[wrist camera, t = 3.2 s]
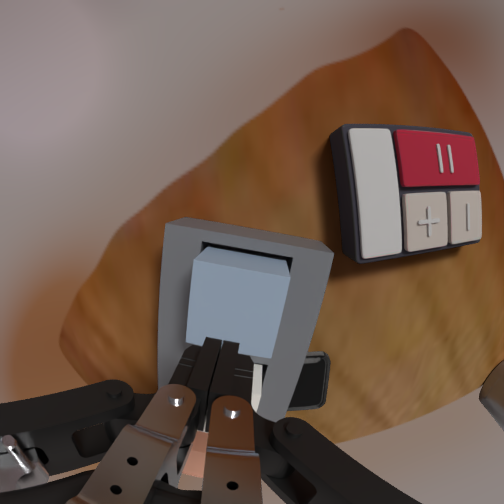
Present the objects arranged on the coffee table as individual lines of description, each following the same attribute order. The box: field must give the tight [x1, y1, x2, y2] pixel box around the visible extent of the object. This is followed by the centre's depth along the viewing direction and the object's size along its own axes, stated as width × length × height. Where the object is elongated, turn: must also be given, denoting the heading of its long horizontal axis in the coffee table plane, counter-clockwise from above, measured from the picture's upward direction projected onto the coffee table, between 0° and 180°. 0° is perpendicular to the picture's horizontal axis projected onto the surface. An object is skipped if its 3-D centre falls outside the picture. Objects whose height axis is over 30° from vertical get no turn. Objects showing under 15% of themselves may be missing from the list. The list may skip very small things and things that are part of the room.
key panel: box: [158, 217, 334, 422], centre depth 24 cm, size 12×26×5 cm, turn 170°
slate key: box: [186, 247, 291, 358], centre depth 18 cm, size 6×6×4 cm
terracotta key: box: [182, 431, 208, 478], centre depth 22 cm, size 6×6×4 cm
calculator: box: [330, 124, 482, 264], centre depth 20 cm, size 11×4×15 cm
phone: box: [287, 351, 330, 411], centre depth 27 cm, size 8×1×15 cm
